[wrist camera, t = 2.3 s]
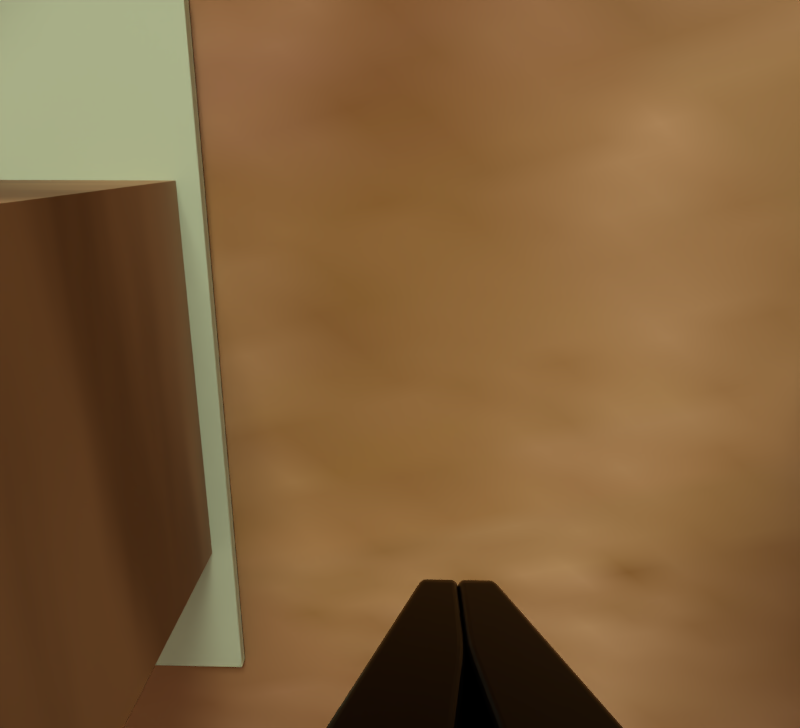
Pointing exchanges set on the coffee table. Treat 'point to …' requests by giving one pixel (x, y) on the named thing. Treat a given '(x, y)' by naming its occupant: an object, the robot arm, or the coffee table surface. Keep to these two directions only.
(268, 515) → the coffee table surface
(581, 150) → the coffee table surface
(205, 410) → the mat
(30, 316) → the walnut block
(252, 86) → the coffee table surface
